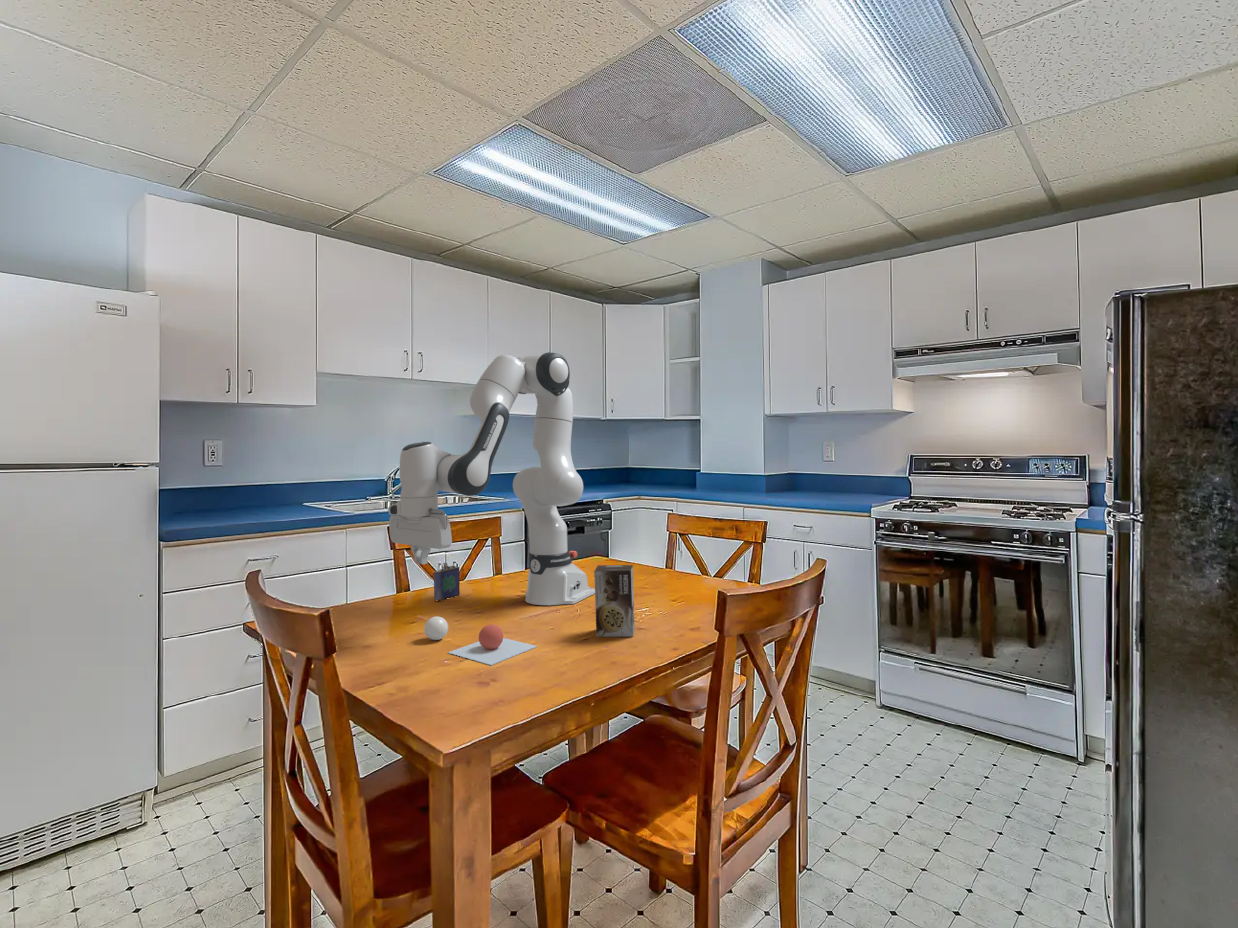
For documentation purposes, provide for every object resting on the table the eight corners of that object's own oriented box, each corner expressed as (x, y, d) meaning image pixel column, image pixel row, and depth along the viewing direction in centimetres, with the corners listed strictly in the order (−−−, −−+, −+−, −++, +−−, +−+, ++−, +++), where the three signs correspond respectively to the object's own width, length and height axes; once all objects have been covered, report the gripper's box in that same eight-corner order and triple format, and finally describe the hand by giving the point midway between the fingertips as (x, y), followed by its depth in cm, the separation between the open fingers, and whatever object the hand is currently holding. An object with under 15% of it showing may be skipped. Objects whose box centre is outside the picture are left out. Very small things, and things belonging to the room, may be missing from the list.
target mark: (494, 636, 152) (494, 635, 152) (537, 646, 144) (537, 645, 144) (447, 653, 141) (447, 652, 141) (491, 665, 132) (491, 664, 132)
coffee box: (635, 629, 156) (634, 564, 155) (633, 637, 149) (632, 569, 149) (598, 628, 157) (597, 564, 156) (595, 636, 150) (593, 569, 150)
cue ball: (451, 620, 149) (454, 635, 152) (437, 607, 152) (440, 622, 155) (431, 634, 146) (434, 648, 149) (417, 621, 148) (421, 635, 152)
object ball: (512, 637, 143) (499, 649, 146) (499, 617, 145) (487, 629, 147) (494, 644, 139) (481, 657, 141) (482, 623, 140) (469, 636, 143)
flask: (438, 602, 185) (436, 566, 185) (431, 601, 187) (430, 565, 187) (462, 595, 193) (461, 560, 193) (455, 594, 195) (454, 559, 194)
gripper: (457, 508, 152) (458, 565, 153) (405, 504, 164) (407, 557, 165) (435, 511, 147) (437, 570, 148) (384, 507, 159) (385, 561, 160)
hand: (421, 563), depth 156 cm, fingers closed
